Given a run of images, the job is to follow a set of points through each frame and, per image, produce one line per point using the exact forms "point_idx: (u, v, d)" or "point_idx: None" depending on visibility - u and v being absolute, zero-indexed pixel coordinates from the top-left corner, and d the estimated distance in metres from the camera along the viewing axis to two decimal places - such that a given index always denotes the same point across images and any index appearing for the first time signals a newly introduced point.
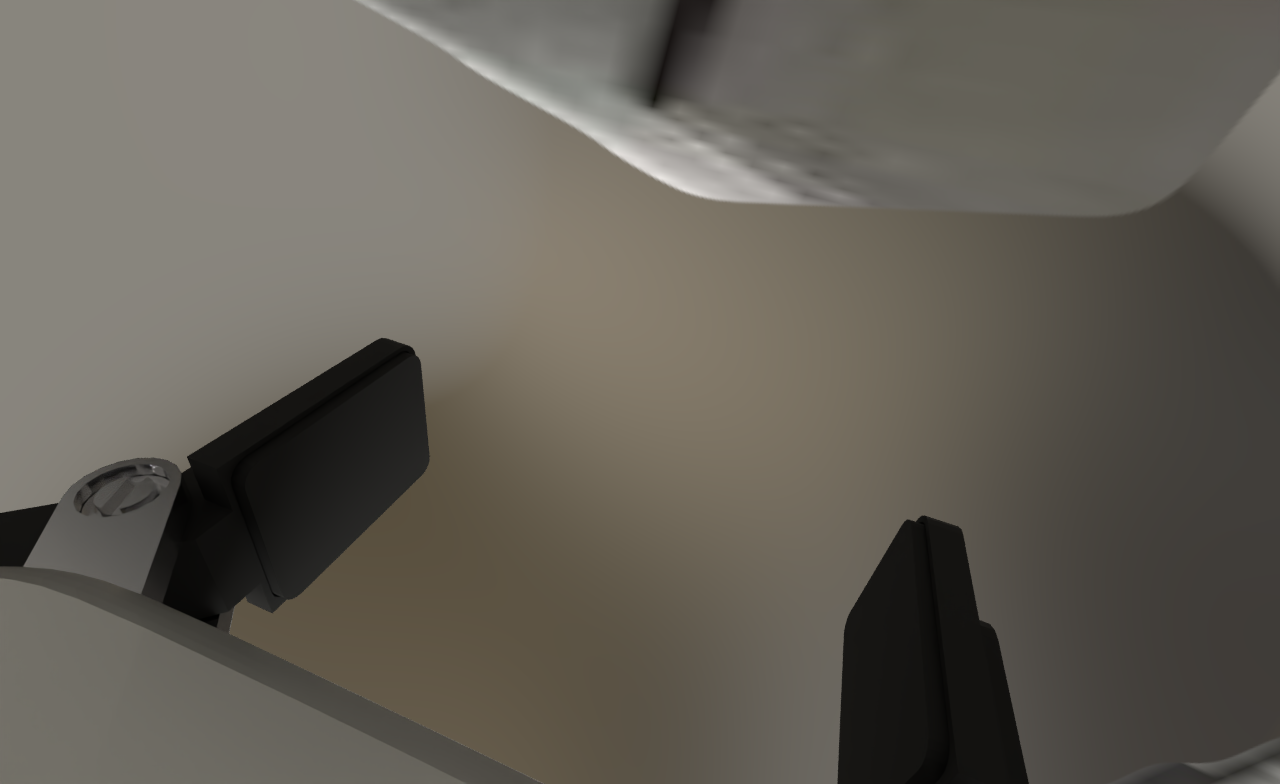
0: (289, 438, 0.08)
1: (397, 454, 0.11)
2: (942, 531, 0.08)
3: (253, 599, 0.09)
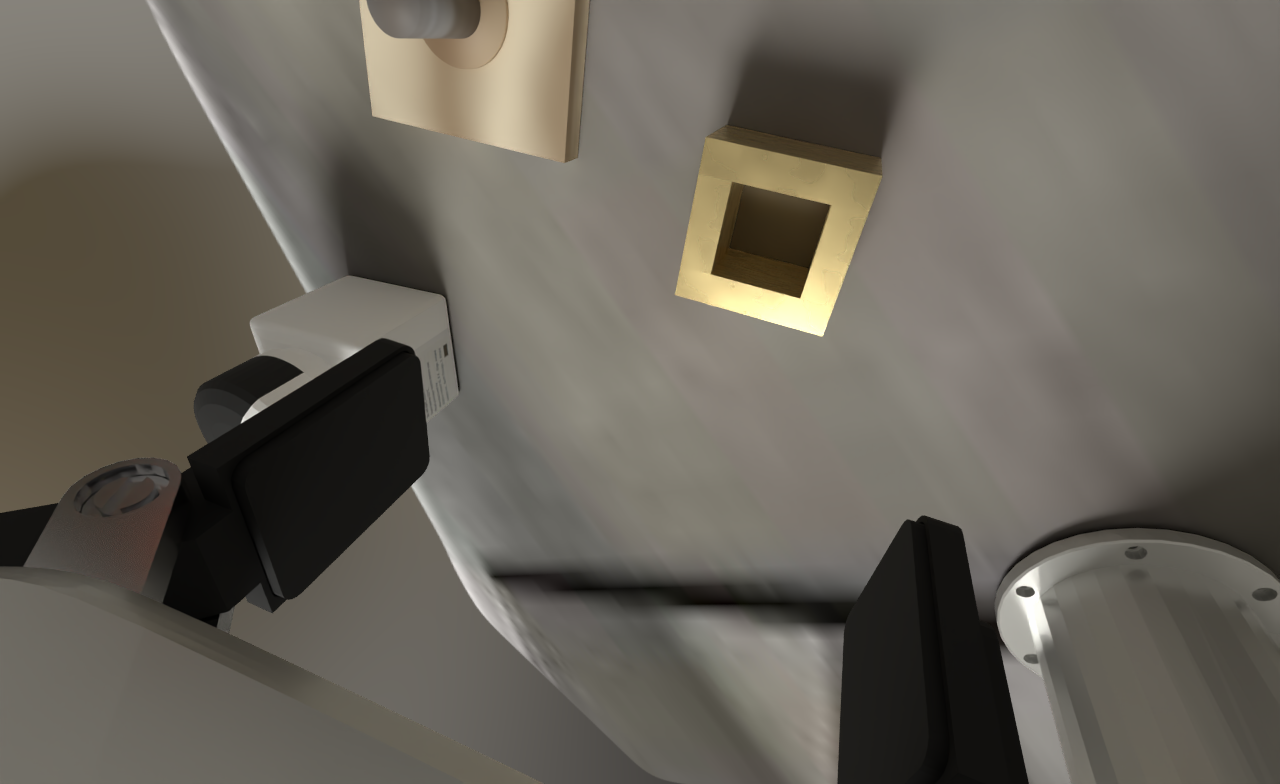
0: (289, 438, 0.08)
1: (397, 454, 0.11)
2: (942, 531, 0.08)
3: (253, 598, 0.09)
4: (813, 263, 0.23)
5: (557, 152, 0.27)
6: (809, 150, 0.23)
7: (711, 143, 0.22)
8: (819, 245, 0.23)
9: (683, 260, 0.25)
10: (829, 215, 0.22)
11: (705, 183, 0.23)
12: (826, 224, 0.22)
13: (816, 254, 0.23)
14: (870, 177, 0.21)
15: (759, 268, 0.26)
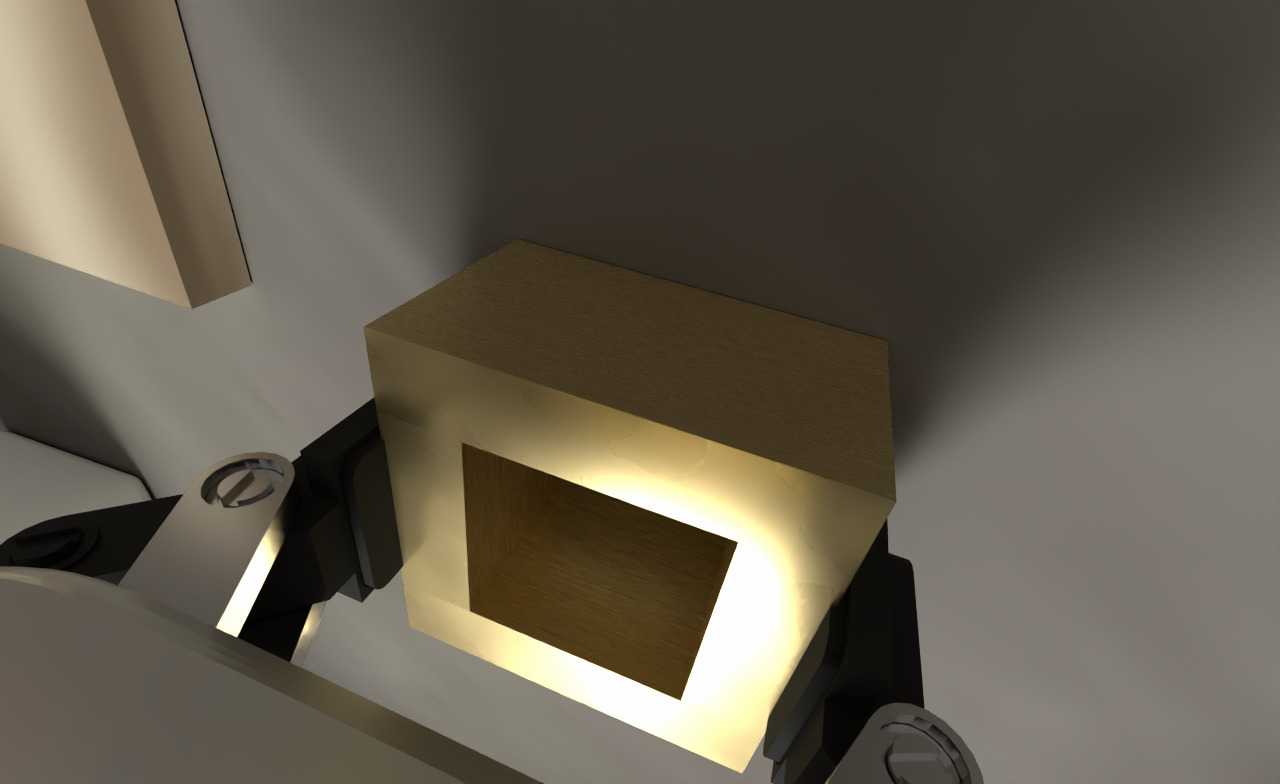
0: None
1: None
2: None
3: (343, 588, 0.10)
4: (703, 648, 0.08)
5: (171, 287, 0.12)
6: (688, 344, 0.08)
7: (383, 344, 0.07)
8: (714, 618, 0.08)
9: (405, 574, 0.10)
10: (734, 563, 0.07)
11: (399, 436, 0.08)
12: (728, 581, 0.08)
13: (709, 634, 0.08)
14: (855, 497, 0.06)
15: (610, 555, 0.12)
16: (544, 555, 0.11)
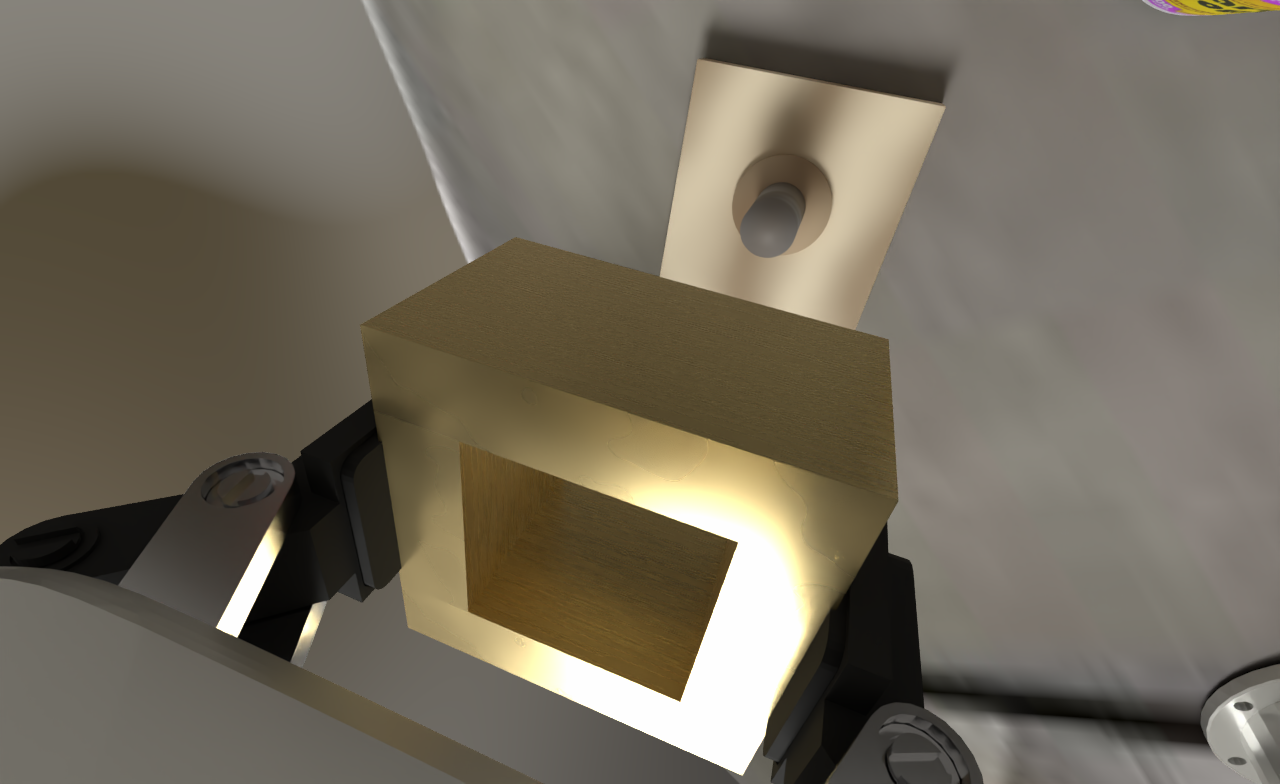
0: None
1: None
2: None
3: (344, 588, 0.10)
4: (703, 649, 0.08)
5: (848, 325, 0.30)
6: (687, 342, 0.08)
7: (380, 342, 0.07)
8: (714, 619, 0.08)
9: (403, 575, 0.10)
10: (734, 563, 0.07)
11: (396, 435, 0.08)
12: (728, 581, 0.07)
13: (708, 635, 0.08)
14: (857, 496, 0.06)
15: (609, 555, 0.12)
16: (543, 555, 0.11)
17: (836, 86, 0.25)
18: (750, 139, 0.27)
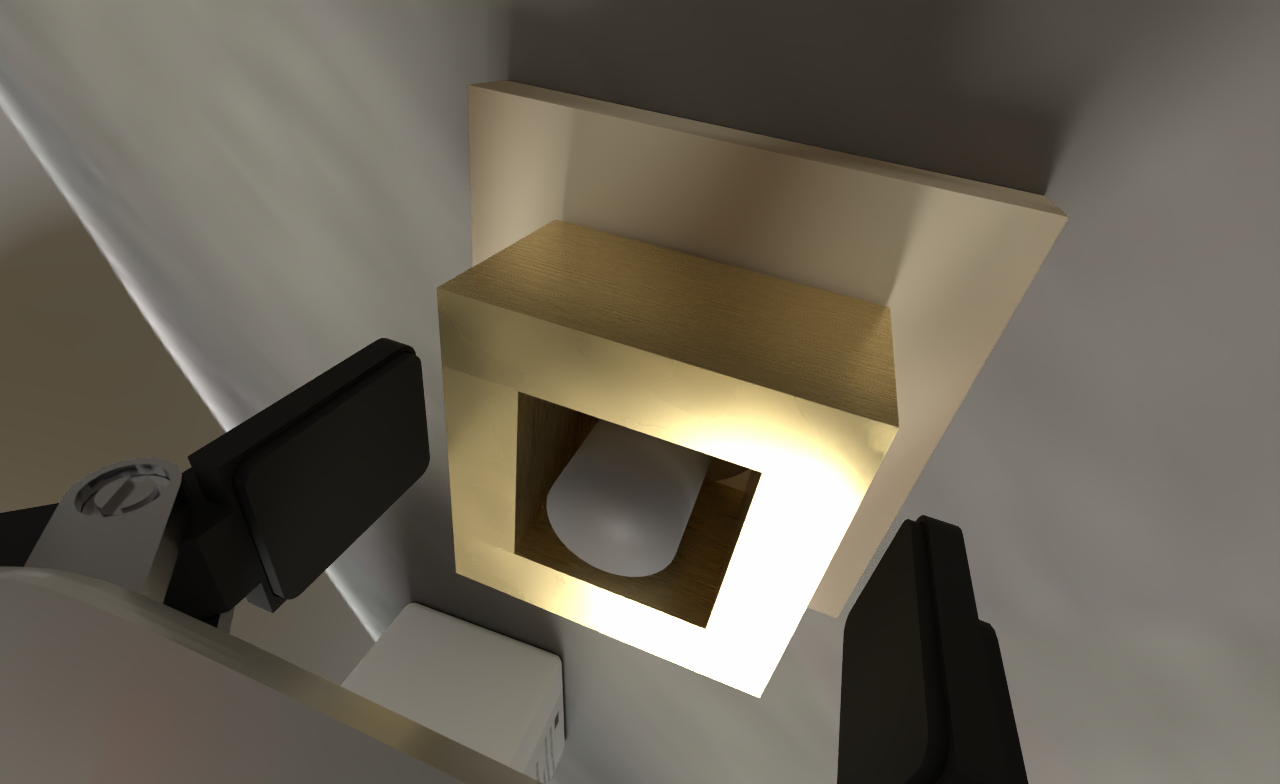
0: (289, 438, 0.08)
1: (397, 454, 0.11)
2: (942, 531, 0.08)
3: (253, 598, 0.09)
4: (728, 576, 0.10)
5: (826, 604, 0.15)
6: (715, 306, 0.09)
7: (453, 303, 0.09)
8: (739, 546, 0.09)
9: (455, 521, 0.11)
10: (758, 492, 0.08)
11: (461, 387, 0.09)
12: (752, 510, 0.09)
13: (733, 561, 0.09)
14: (864, 425, 0.07)
15: None
16: None
17: (785, 156, 0.10)
18: None
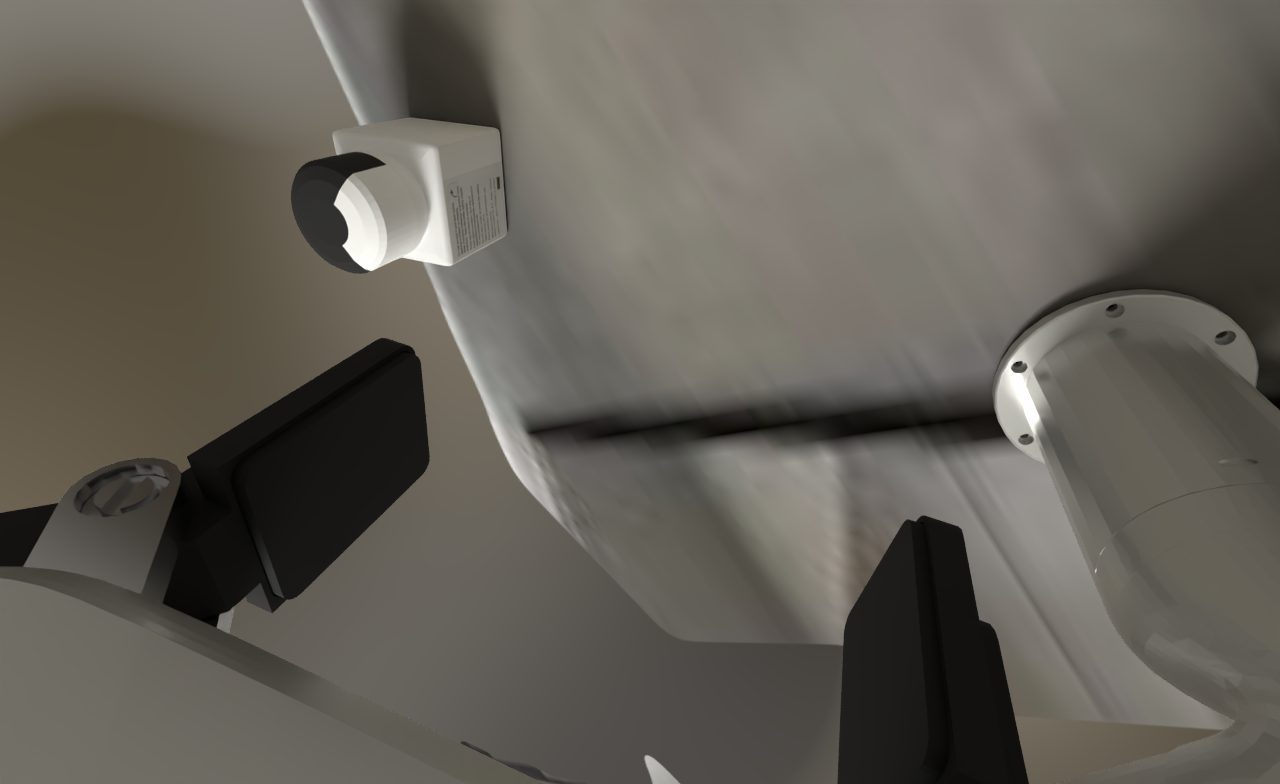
0: (289, 438, 0.08)
1: (397, 454, 0.11)
2: (942, 531, 0.08)
3: (252, 598, 0.09)
4: None
5: None
6: None
7: None
8: None
9: None
10: None
11: None
12: None
13: None
14: None
15: None
16: None
17: None
18: None
